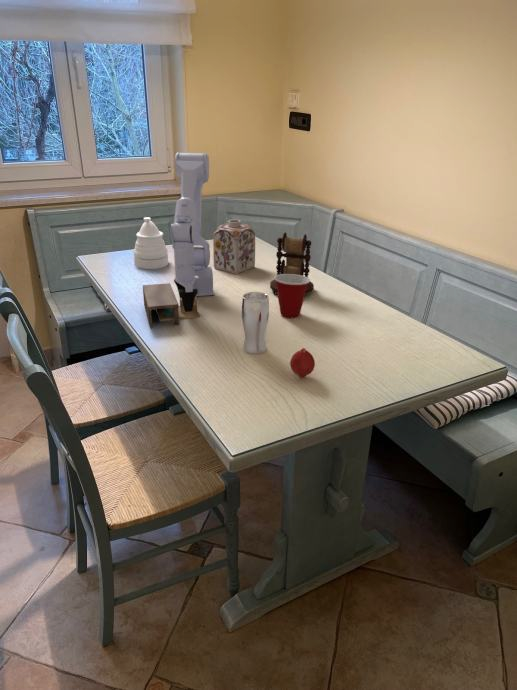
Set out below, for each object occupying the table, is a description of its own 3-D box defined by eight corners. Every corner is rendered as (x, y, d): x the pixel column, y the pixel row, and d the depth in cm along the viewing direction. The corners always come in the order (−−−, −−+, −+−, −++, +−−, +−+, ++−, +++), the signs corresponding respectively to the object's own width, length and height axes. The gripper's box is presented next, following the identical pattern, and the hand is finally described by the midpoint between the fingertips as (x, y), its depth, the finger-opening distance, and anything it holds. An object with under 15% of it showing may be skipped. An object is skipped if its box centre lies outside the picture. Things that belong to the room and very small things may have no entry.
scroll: (316, 286, 184) (321, 230, 175) (308, 301, 171) (312, 241, 162) (275, 282, 187) (278, 226, 178) (264, 296, 174) (266, 236, 166)
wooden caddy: (171, 302, 168) (170, 283, 165) (179, 325, 152) (178, 304, 149) (144, 304, 166) (142, 285, 163) (149, 327, 150) (148, 306, 147)
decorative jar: (232, 261, 208) (232, 215, 200) (255, 267, 202) (256, 220, 194) (212, 268, 199) (211, 221, 191) (236, 275, 193) (236, 226, 185)
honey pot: (165, 269, 198) (162, 221, 190) (131, 268, 198) (126, 220, 190) (170, 259, 209) (168, 213, 201) (138, 258, 209) (134, 212, 201)
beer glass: (264, 356, 136) (266, 302, 129) (238, 353, 137) (239, 299, 130) (269, 344, 142) (271, 292, 135) (244, 342, 143) (245, 290, 136)
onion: (288, 371, 129) (289, 342, 125) (311, 370, 130) (313, 341, 126) (291, 383, 124) (293, 353, 120) (315, 382, 124) (317, 352, 121)
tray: (194, 307, 166) (193, 292, 164) (200, 318, 158) (199, 302, 156) (155, 311, 162) (154, 296, 160) (160, 322, 155) (159, 306, 153)
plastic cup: (313, 311, 163) (315, 274, 158) (300, 324, 155) (303, 285, 149) (280, 305, 167) (282, 269, 162) (267, 317, 159) (268, 279, 153)
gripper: (202, 270, 149) (203, 314, 155) (193, 255, 161) (195, 296, 167) (177, 271, 147) (179, 316, 153) (170, 256, 159) (173, 298, 166)
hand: (186, 306), depth 160 cm, fingers open, 7 cm apart
